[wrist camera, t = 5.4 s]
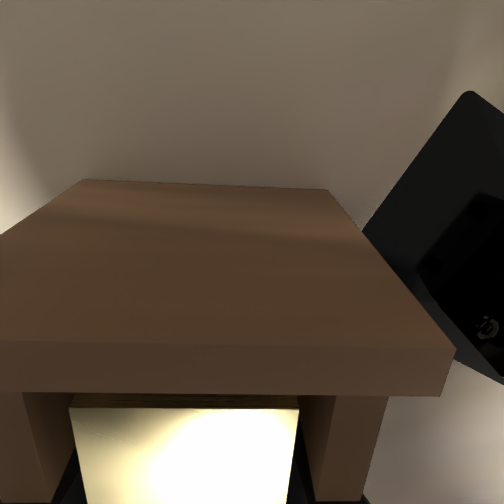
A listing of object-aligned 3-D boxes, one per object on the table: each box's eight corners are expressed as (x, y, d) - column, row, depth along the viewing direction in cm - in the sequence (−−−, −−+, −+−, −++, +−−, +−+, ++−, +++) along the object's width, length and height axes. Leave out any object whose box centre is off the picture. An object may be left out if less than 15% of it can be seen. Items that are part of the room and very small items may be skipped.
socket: (304, 355, 11) (366, 607, 6) (105, 352, 10) (-19, 615, 5) (327, 189, 9) (456, 348, 4) (82, 179, 8) (-153, 336, 3)
